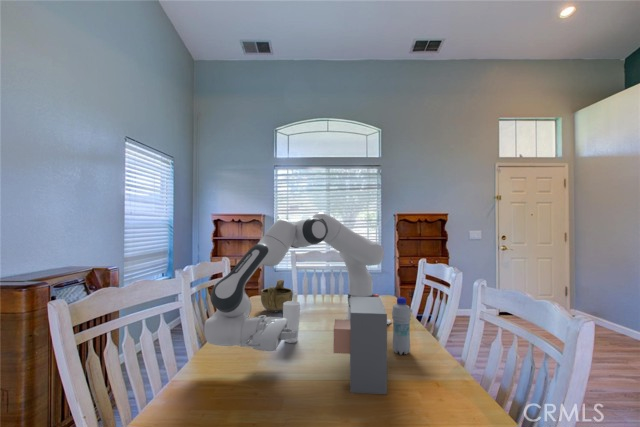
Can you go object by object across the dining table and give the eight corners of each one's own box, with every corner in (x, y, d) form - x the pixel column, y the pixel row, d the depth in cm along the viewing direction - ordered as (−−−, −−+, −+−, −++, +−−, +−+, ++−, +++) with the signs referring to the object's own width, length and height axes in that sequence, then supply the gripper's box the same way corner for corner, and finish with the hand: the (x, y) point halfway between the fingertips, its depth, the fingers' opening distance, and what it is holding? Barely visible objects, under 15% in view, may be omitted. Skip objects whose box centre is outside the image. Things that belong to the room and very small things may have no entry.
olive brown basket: (267, 304, 180) (267, 278, 181) (296, 306, 178) (296, 279, 179) (254, 316, 158) (255, 286, 159) (287, 317, 156) (288, 287, 157)
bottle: (411, 350, 117) (411, 296, 118) (410, 357, 111) (410, 300, 112) (392, 347, 119) (393, 294, 120) (390, 354, 113) (391, 298, 114)
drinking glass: (297, 345, 121) (297, 305, 122) (280, 343, 123) (280, 304, 123) (301, 338, 128) (301, 301, 128) (285, 337, 129) (286, 300, 130)
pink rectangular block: (333, 353, 94) (333, 328, 94) (334, 341, 103) (334, 319, 103) (350, 353, 93) (350, 329, 93) (350, 342, 102) (350, 319, 103)
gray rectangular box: (350, 392, 88) (350, 312, 88) (350, 361, 107) (350, 296, 108) (386, 394, 87) (386, 313, 87) (379, 362, 107) (379, 297, 107)
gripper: (243, 333, 90) (291, 335, 89) (263, 313, 111) (301, 314, 110) (243, 356, 90) (291, 358, 89) (262, 331, 111) (301, 333, 109)
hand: (297, 334), depth 99 cm, fingers closed
